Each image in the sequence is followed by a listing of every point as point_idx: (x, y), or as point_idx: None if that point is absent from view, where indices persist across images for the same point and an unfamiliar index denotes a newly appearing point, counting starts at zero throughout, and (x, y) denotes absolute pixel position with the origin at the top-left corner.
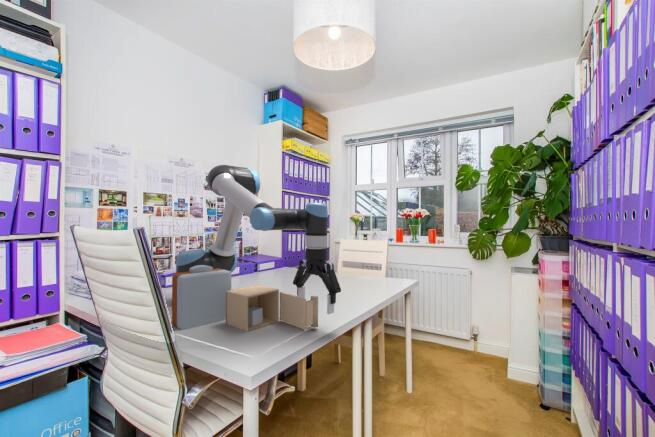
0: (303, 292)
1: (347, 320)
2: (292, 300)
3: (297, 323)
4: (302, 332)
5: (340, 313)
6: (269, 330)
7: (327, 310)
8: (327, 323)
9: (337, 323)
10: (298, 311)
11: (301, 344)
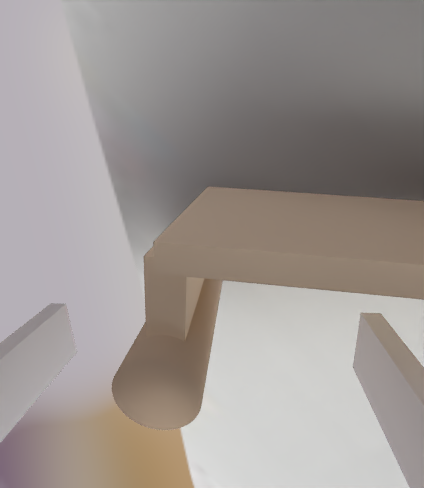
0: (414, 468)
1: None
2: (401, 243)
3: (270, 193)
4: (218, 180)
5: (267, 474)
6: (413, 51)
7: (47, 318)
8: (217, 351)
9: None
10: (266, 209)
11: (87, 45)
